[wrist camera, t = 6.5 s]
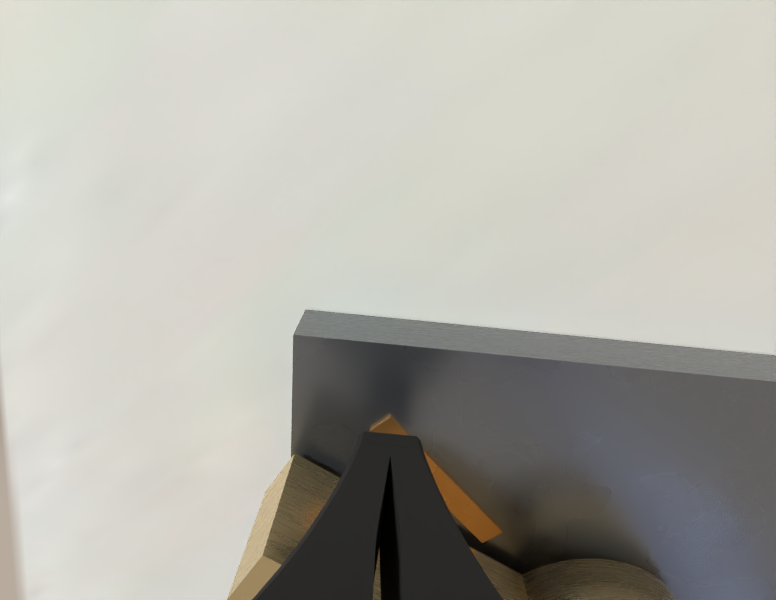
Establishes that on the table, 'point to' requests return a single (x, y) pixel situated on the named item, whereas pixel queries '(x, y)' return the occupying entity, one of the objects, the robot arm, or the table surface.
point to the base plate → (562, 442)
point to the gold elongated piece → (303, 504)
